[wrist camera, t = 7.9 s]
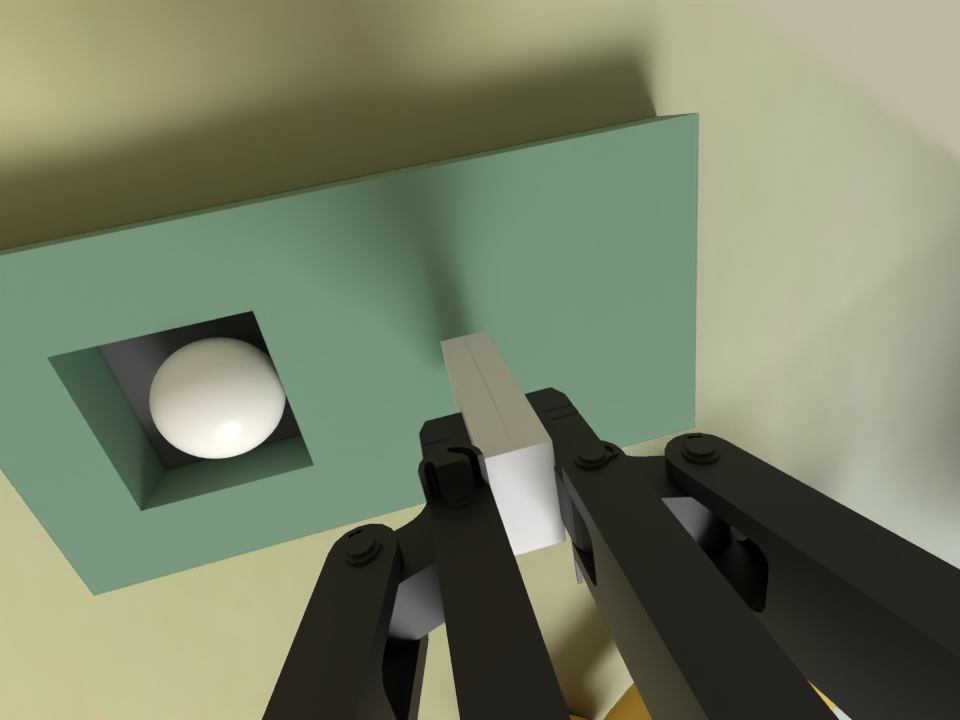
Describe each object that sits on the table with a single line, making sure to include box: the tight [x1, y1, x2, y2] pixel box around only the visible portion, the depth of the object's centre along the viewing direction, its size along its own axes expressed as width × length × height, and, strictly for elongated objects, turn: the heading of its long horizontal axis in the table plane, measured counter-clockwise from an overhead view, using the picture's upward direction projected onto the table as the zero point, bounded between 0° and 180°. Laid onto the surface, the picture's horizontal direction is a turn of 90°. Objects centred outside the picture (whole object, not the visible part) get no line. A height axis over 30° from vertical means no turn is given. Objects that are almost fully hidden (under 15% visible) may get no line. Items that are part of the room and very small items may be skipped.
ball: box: [149, 337, 286, 459], centre depth 17 cm, size 4×4×4 cm
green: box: [0, 113, 699, 596], centre depth 18 cm, size 24×12×2 cm, turn 100°
